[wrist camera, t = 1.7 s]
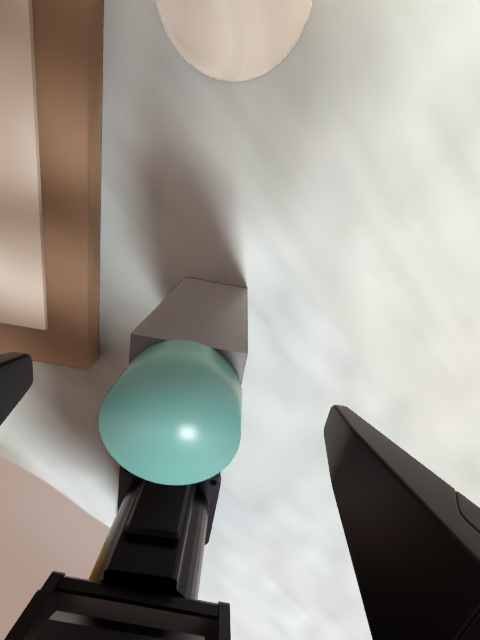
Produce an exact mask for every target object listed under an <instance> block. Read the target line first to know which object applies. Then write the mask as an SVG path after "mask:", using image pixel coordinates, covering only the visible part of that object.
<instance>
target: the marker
mask: <svg viewBox="0 0 480 640" xmlns="http://www.w3.org/2000/svg"><path fill="white" fill-rule="evenodd" d="M247 355H248V307H247V288H244V287H238V286H232V285H227V284H221V283H216V282H210V281H205V280H199V279H194V278H188V277H186V278H185V279H184V280H183V281H182V282H181V283H180V284H179V285H178V286H177V287H176V288H175V289H174V290H173V291H172V292H171V293H170V294H169V295H168V296H167V297H166V298H165V299H164V300H163V301H162V302H161V303H160V304H159V305H158V306H157V307H156V309H155V310H154V311H153V312H152V313H151V314H150V315H149V316H148V317H147V318H146V319H145V320H144V321H143V322H142V323H141V324H140V325H139V326H138V327H137V328H136V329H135V330H134V331H133V332H132V333H131V341H130V359H129V366H128V368H127V369H126V370H125V371H124V373H123V374H122V375H121V377H120V378H119V379H118V380H117V382H116V383H115V384H114V385H113V387H112V388H111V389H110V391H109V392H108V393H107V395H106V396H105V398H104V400H103V402H102V404H101V407H100V410H99V416H98V426H99V432H100V436H101V439H102V441H103V444H104V445H105V447H106V449H107V451H108V452H109V453H110V455H111V456H112V457H113V458H114V459H115V460H116V461H117V462H118V463H119V464H120V465H121V466H122V467H123V468H125V469H126V470H128V471H129V472H131V473H132V474H134V475H136V476H138V477H140V478H143V479H145V480H148V481H151V482H155V483H159V484H165V485H188V484H193V483H198V482H201V481H204V480H206V479H209V478H211V477H213V476H214V475H216V474H218V473H219V472H221V471H222V470H223V469H224V468H225V467H226V466H227V465H228V464H229V463H230V462H231V460H232V459H233V458H234V456H235V454H236V452H237V450H238V447H239V443H240V436H241V406H242V389H241V383H242V379H243V374H244V369H245V364H246V359H247Z"/></svg>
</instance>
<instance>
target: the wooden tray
mask: <svg viewBox="0 0 480 640" xmlns="http://www.w3.org/2000/svg"><path fill="white" fill-rule="evenodd" d="M103 13H104V0H0V354H4V353H9V352H22V353H27V354H29V355H30V356H31V357H32V361H38V362H45V363H51V364H57V365H63V366H69V367H75V368H81V369H87V370H88V369H89V368H90V367H91V366H92V365H93V364H94V363H95V362H96V361H97V360H98V343H99V277H100V211H101V145H102V79H103Z"/></svg>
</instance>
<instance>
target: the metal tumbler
mask: <svg viewBox="0 0 480 640" xmlns="http://www.w3.org/2000/svg"><path fill="white" fill-rule="evenodd" d="M155 2H156V6H157V10H158V13H159V16H160V19H161V21H162V24H163V26H164V29H165V31H166V33H167V35H168V37H169V39H170V40H171V42H172V44H173V45H174V47H175V48H176V49H177V51H178V52H179V53H180V54H181V56H182V57H183V58H184V59H185V60H186V61H187V62H188V63H189V64H190V65H192V66H193V67H194V68H195V69H197V70H198V71H200V72H201V73H203V74H205V75H207V76H209V77H212V78H214V79H217V80H222V81H228V82H240V81H246V80H250V79H254V78H256V77H259V76H261V75H263V74H265V73H267V72H268V71H270V70H271V69H273V68H274V67H275V66H277V65H278V64H279V63H280V62H281V61H282V60H283V59H284V58H285V57H286V56H287V55H288V53H289V52H290V51H291V49H292V48H293V47H294V45H295V44H296V42H297V40H298V39H299V37H300V35H301V33H302V31H303V29H304V27H305V25H306V22H307V20H308V17H309V14H310V11H311V8H312V3H313V0H155Z"/></svg>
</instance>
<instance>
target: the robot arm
mask: <svg viewBox="0 0 480 640" xmlns="http://www.w3.org/2000/svg"><path fill="white" fill-rule="evenodd" d="M32 382H33V367H32V357H31V356H30V355H29V354H27V353H22V352H9V353H4V354H0V425H1V424H2V423H3V421H4V420H5V419H6V418H7V416H8V415H9V414H10V413H11V411H12V410H13V409H14V407H15V406H16V405H17V404H18V402H19V401H20V400H21V398H22V397H23V396H24V395H25V393H26V392H27V391H28V389H29V388H30V387H31V385H32ZM324 438H325V445H326V452H327V458H328V465H329V471H330V477H331V483H332V487H333V491H334V495H335V499H336V503H337V507H338V510H339V514H340V518H341V522H342V525H343V529H344V533H345V537H346V541H347V544H348V548H349V552H350V556H351V559H352V563H353V567H354V571H355V575H356V578H357V582H358V586H359V590H360V593H361V597H362V601H363V605H364V609H365V612H366V616H367V620H368V624H369V628H370V631H371V635H372V639H373V640H480V508H479V507H478V506H476V505H475V504H474V503H472V502H471V501H470V500H468V499H467V498H466V497H465V496H463V495H462V494H461V493H459V492H457V491H456V492H455V489H454V488H453V487H451V486H450V485H449V484H447V483H446V482H445V481H443V480H442V479H441V478H439V477H438V476H437V475H436V474H434V473H433V472H432V471H430V470H429V469H428V468H426V467H425V466H424V465H422V464H421V463H420V462H418V461H417V460H416V459H415V458H413V457H412V456H411V455H409V454H408V453H407V452H405V451H404V450H403V449H401V448H400V447H399V446H397V445H396V444H395V443H394V442H392V441H391V440H390V439H388V438H387V437H386V436H384V435H383V434H382V433H380V432H379V431H378V430H377V429H375V428H374V427H373V426H371V425H370V424H369V423H367V422H366V421H365V420H363V419H362V418H361V417H359V416H358V415H357V414H356V413H354V412H353V411H352V410H350V409H349V408H348V407H345V406H340V405H333V406H332V407H331V409H330V412H329V415H328V418H327V421H326V424H325V427H324ZM220 485H221V476H220V474H219V473H218V474H216V475H214V476H213V477H211V478H209V479H206V480H204V481H201V482H198V483H193V484H188V485H165V484H159V483H155V482H151V481H148V480H145V479H143V478H140V477H138V476H136V475H134V474H132V473H131V472H129V471H128V470H126V469H125V468H123V467H122V466H120V475H119V495H118V513H117V515H116V518H115V520H114V522H113V524H112V527H111V529H110V532H109V534H108V536H107V538H106V541H105V543H104V545H103V548H102V550H101V552H100V555H99V557H98V559H97V561H96V564H95V566H94V568H93V571H92V573H91V575H90V578H89V580H86V579H80V578H75V577H70V576H65V573H62V572H57V571H53V572H52V573H51V575H50V576H49V578H48V579H47V581H46V582H45V584H44V585H43V587H42V588H41V590H38V591H37V592H36V593H35V595H34V596H33V598H32V599H31V601H30V603H29V604H28V605H27V607H26V608H25V610H24V611H23V613H22V614H21V616H20V617H19V619H18V620H17V622H16V623H15V625H14V626H13V627H12V629H11V630H10V632H9V633H8V635H7V636H6V638H5V639H4V640H231V634H230V604H229V603H225V602H220V601H219V602H218V604H217V603H212V602H206V601H201V600H197V599H198V591H199V583H200V575H201V568H202V560H203V552H204V545H205V544H207V543H208V542H209V538H210V533H211V528H212V523H213V518H214V514H215V509H216V504H217V499H218V494H219V490H220Z"/></svg>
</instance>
